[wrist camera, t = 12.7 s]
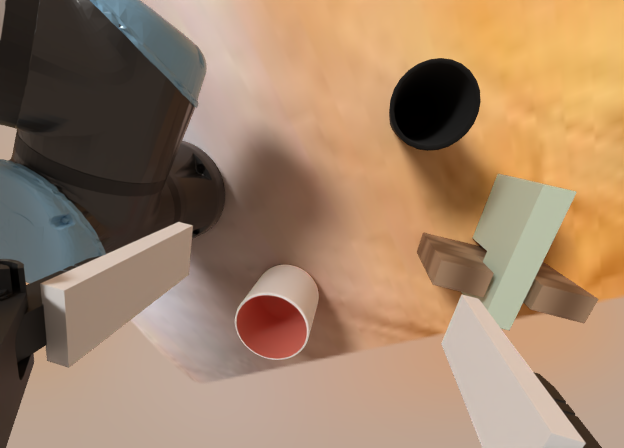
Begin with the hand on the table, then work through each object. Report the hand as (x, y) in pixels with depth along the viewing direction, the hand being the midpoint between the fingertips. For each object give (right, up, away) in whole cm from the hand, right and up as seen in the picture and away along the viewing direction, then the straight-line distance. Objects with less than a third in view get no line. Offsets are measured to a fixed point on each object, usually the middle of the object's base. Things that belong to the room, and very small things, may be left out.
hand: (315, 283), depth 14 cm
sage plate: (+24, +2, +26) cm, 35 cm away
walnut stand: (+23, -2, +27) cm, 35 cm away
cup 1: (-4, -8, +33) cm, 34 cm away
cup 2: (+13, +17, +24) cm, 31 cm away
